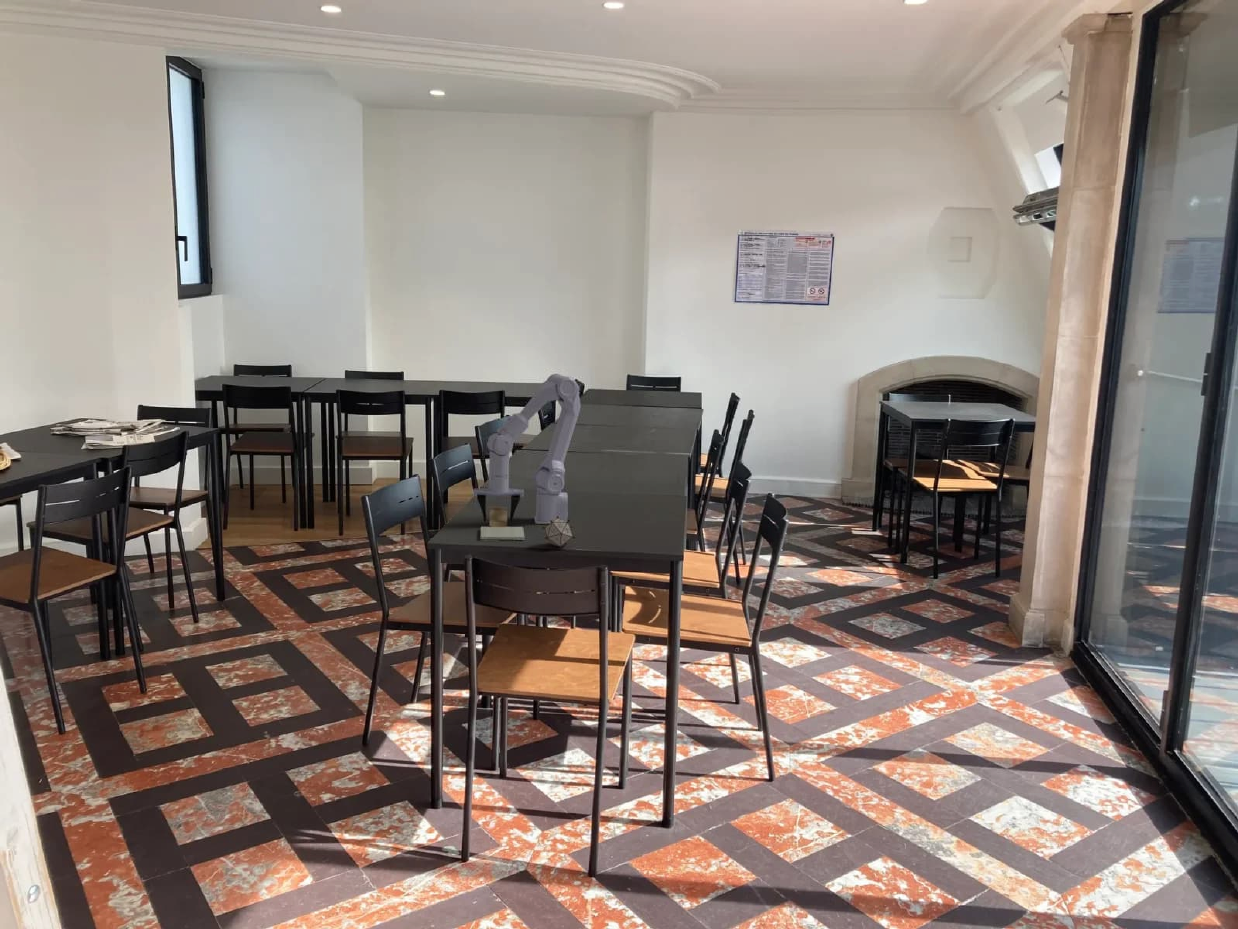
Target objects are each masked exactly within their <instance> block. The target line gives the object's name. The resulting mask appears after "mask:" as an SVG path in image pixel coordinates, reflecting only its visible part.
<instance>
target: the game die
mask: <svg viewBox="0 0 1238 929" xmlns="http://www.w3.org/2000/svg"><path fill="white" fill-rule="evenodd" d="M570 521H571V520H570V519H567V521H564V520H561V519H558V516H557V519H556V520H554V521H553V522H552V520H550V522H551V523H550V524H547V526H543V527H541V528H542V530H543V529H544V531H545V537H544V540H546V539H547V541H548V543H547V546H551V545H554V546H556V547H558V548H559V550H562V546H564V545H566V544H567V545H568V542H569V541H570V540H571V539H576V536H574V535H573V532H572V529H573V526H572V525H571V526H570V523H569V522H570Z"/></svg>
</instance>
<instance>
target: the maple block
mask: <svg viewBox="0 0 1238 929" xmlns="http://www.w3.org/2000/svg"><path fill="white" fill-rule="evenodd" d="M490 526H491V527H508V506H490V507H489V527H490Z"/></svg>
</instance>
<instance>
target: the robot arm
mask: <svg viewBox="0 0 1238 929" xmlns="http://www.w3.org/2000/svg"><path fill="white" fill-rule="evenodd" d="M554 401H557V403H558V404H559V406H560V408H561V410H560V412H559V416H558V420H557V422H556V426H555V429H554V432H553V435H552V439H551V442H550V445H549V449H548V451H547V455H546V457H545V458H544V460H543V461H542V462H541V464H540V465H539V468H538V469H537V470H536V471H535V473H534V476H533V482H534V483H535V484H534V485H536V487H537V489H536V508H535V510H536V512H535V514H536V515H534V518H533V519H534V524H538V525H539V524H542V525H545V524H546V525H549V524H550V523H551V522H550V520H552V522H553V521H554V520H556V519H557V516H558V519H561V520H564V521H568V518H569V517H568V516H569V511H568V510H569V509H568V508H569V506H568V505H569V504H568V502H569V499H568V498H569V496H568V492H563V491H562V490H563V489H564V486H565V475H566V474H565V473H566V469H565V464H564V463H565V459H566V456H567V453H568V451H569V447H570V443H571V440H572V437H573V434H574V430H575V427H576V424H577V422H578V417H579V414H580V411H581V407H582V405H581V399H580V386H579V385H578V383H577V381H576V380H575V379H574V378H573V377H570V376H565V375H561V374H559V373H553V374H551V375H550V376H548V377H547V379H546V380H544V381H543V382H542V384H541V385H540V387H539V389H538V390H537V391H536V392H535V393H534V395H533V396H532V398H530V400H529V401H528V402H527V403H526V405H525V406H524V407H523V408H522V410H521V411H520V412H518V413H513V414H512V415H508V416H507V418H506V419H507V421H506V422H504V424H503V425H502V426H501V427H500V428H497V430H496V433H493V434H491V435H490V436H489V438H488V439H487V440H488V441H487V442H486V448H487V449H488V450H489V459H488V460H489V463H488V464H489V465H488V467H489V468H488V469H489V470H488V472H489V473H488V476H489V477H488V487H485V488H484V487H481V488H473V497H477V499H476V500H477V502H478V504H479V507H480V509H481V513H482V517H483V521H484V522H486V521H487V511H486V510H487V508H486V506H487V504H486V502H487V497H510V513H509V514H510V515H509V521H510V522H513V520H514V515H515V512H516V509H517V507H518V505H519V502H520V501H521V498H524V495H525V491H524V488H523V489H522V488H512V487H511V488H510V486H509V485H510V484H509V482H510V475H509V474H510V453H511V452H512V451H513V448H514V443H515V442H516V441H517V440H518V439H519V438H520V437H521V436H522V435H523V433H524V432H525V431H526V430H527V429H528V428H529V421H530V420H531V418H533V417H534V416H535V415H536V414H537V413H538V412H539V411H540V410H541V408H543V407H544V406H545V405H546V404H547V403H549V402H554Z"/></svg>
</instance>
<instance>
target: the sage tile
mask: <svg viewBox="0 0 1238 929" xmlns="http://www.w3.org/2000/svg"><path fill="white" fill-rule="evenodd" d="M481 539H514V540H515V539H517V540H520V539H521V540H524V541H525V532H524V527H523V526H507V527H490V526H481V527H480V540H481Z"/></svg>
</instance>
